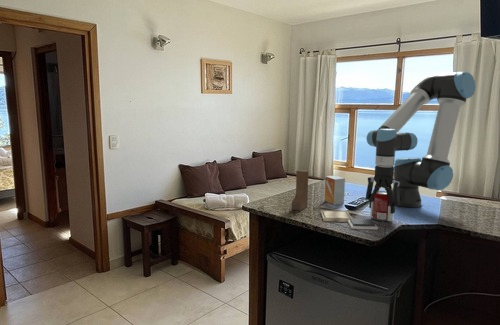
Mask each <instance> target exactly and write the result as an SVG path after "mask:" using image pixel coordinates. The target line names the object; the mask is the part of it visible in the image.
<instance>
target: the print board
mask: <svg viewBox="0 0 500 325" xmlns="http://www.w3.org/2000/svg"><path fill="white" fill-rule="evenodd" d="M320 216H321V218H322V220H323V222H337V223H338V222H339V223H340V222H341V223H342V222H343V223H348V220H350V219H353V217H352V216H351V214H350V213H349V212H348V210H334V209H333V210H331V209H328V210H327V209H324V210H323V209H320Z"/></svg>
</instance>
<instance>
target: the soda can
mask: <svg viewBox="0 0 500 325" xmlns="http://www.w3.org/2000/svg"><path fill="white" fill-rule="evenodd" d="M388 206H390V202H389V199H388V195H387V192H386V190H379V191H377V192H376V194H375V195H374V207H373V217H372V218H373V219H374V220H376V221H379V222H388V221H387V219H388Z"/></svg>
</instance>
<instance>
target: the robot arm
mask: <svg viewBox="0 0 500 325" xmlns="http://www.w3.org/2000/svg"><path fill="white" fill-rule="evenodd" d="M475 92H476V81H475V78H474V76H473V75H472V74H471V73H470V72H468V71H456V72H455V71H454V72H453V71H451V72H440V73H434V74H431V75H429V76H427V77H426V78H423V79H422V80H421V81H420V82H419V83H418V84H417V85H415V86H414V87H413V88H412V90H411V91H410V95H408V97H407V98H406V99H405V100H404V101H403V102H402V103H401V104H400V105H399V107H397V109H396V110H394V111H393V113H392V114H391V115H390V116H389V117H388V118H387V119H386V120H385V121H384V122H383V123H382V125H381V126H379V127H378V129H373V130H370V131H369V132H368V133H367V135H366V142H367V144H368V145H369V146H371V147H374V148H375V163H374V164H375V166H374V176H370V177H367V186H366V187H367V188H366V194H365V200H368V201H369V206H368V208H369V209H370V214H369V215H370V217H372V218H373V207H374V195H375V194H376V192H377V191H380V189H381V188H383V189H384V191H386V192H387V195H388V199H389V202H390V206H388V219H387V221H386V222H391V221H393V217H394V216H393V215H394V214H395V212H396V207H403V208H418V207H421V206H422V198H421V194H420V190H419V187H421V188H425V189H429V190H433V191H434V190H435V191H442V190H445V189H446V188H447V187H449V185H450V184H451V183H452V181H453V178H454V170H453V168H452V167H451V161H450V160H449V159H448V156H449V153H450V149H451V145H452V142H453V137H454V134H455V130H456V126H457V121H458V118H459V114H460V110H461V107H462V106H464V105H466V102H467V99H471V98H472V97H473V96H474V94H475ZM434 99H435V100H436V102H437V103H438V104H439V105H438V108H437V112H436V117H435V121H434V125H433V129H432V132H431V135H430V136H431V137H430V141H429V145H428V149H427V151H426V154H425V155H424V156H421V157H422V158H421V157H400V158H397V159H396V158H395V157H396V152H399V151H400V152H401V151H411V150H414V149H415V148H417V146H418V137H417V135H416V134H415V133H413V132H400V131H401V129H402V128H403V127H404V126H405V125H406V124H407V123H408V121H410V119H411V118H412V117H414V115H415V114H416V113H417V112H418V111H419V110H420V109H421V108H422V106H424V105H427V104H428V103H429V102H430V101H432V100H434ZM374 182H375V185H374Z"/></svg>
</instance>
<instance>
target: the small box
mask: <svg viewBox="0 0 500 325" xmlns="http://www.w3.org/2000/svg"><path fill="white" fill-rule="evenodd" d="M324 180H325V182H324V201H325V202H326V203H328V204H332V205H334V206H335V205H336V206H337V205H342V204H344V203H345V188H346V187H345V186H346V178H345V177H341V176H338V175H325V179H324Z"/></svg>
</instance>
